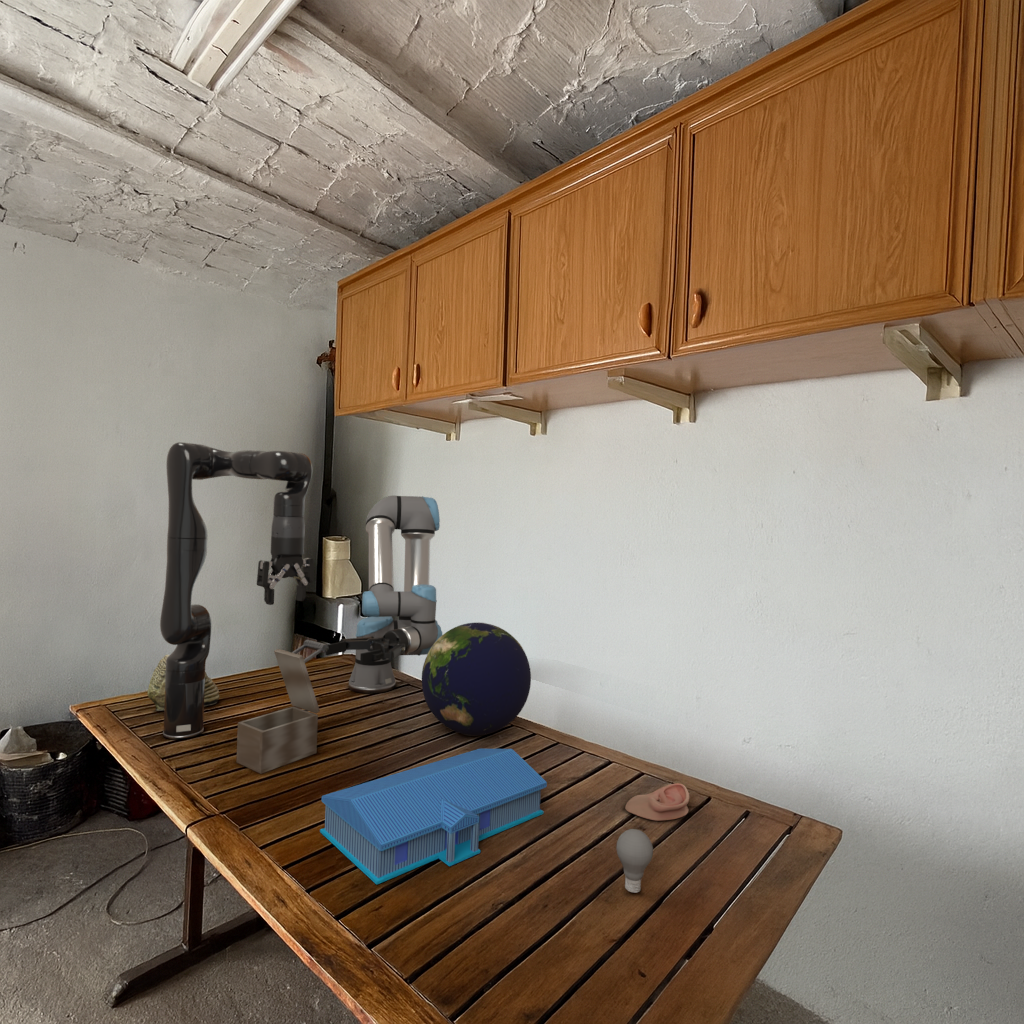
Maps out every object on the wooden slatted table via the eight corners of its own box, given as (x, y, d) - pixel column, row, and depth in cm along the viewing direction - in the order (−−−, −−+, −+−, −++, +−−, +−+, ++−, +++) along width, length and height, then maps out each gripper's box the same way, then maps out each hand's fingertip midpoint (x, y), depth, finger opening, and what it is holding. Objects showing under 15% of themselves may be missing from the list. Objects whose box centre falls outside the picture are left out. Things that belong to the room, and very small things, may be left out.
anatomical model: (625, 797, 130) (626, 774, 142) (624, 816, 131) (626, 791, 142) (692, 806, 128) (688, 782, 139) (691, 826, 128) (687, 800, 139)
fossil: (144, 707, 182) (145, 655, 182) (212, 696, 194) (213, 647, 194) (151, 716, 175) (153, 662, 175) (221, 703, 188) (223, 653, 188)
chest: (260, 774, 143) (262, 732, 143) (236, 762, 149) (237, 722, 148) (316, 753, 156) (318, 714, 156) (292, 743, 161) (293, 706, 161)
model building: (386, 894, 102) (389, 832, 102) (318, 830, 120) (320, 778, 120) (555, 819, 128) (557, 770, 128) (478, 776, 146) (480, 733, 146)
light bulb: (610, 879, 108) (613, 822, 108) (644, 879, 109) (647, 822, 109) (619, 902, 102) (622, 840, 102) (655, 901, 103) (658, 840, 103)
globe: (398, 740, 166) (402, 626, 165) (451, 707, 194) (455, 609, 193) (502, 762, 155) (508, 640, 154) (543, 724, 182) (548, 620, 182)
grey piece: (298, 657, 150) (328, 637, 157) (273, 651, 156) (304, 631, 163) (316, 713, 155) (344, 691, 162) (291, 705, 161) (320, 684, 168)
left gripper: (271, 537, 144) (268, 608, 144) (322, 535, 156) (319, 601, 156) (251, 534, 148) (249, 603, 148) (302, 533, 160) (300, 597, 160)
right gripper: (431, 662, 178) (376, 677, 161) (369, 647, 192) (312, 660, 175) (432, 635, 178) (377, 648, 161) (370, 622, 192) (313, 633, 175)
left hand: (285, 602), depth 152 cm, fingers open, 8 cm apart
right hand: (343, 654), depth 168 cm, fingers open, 13 cm apart
